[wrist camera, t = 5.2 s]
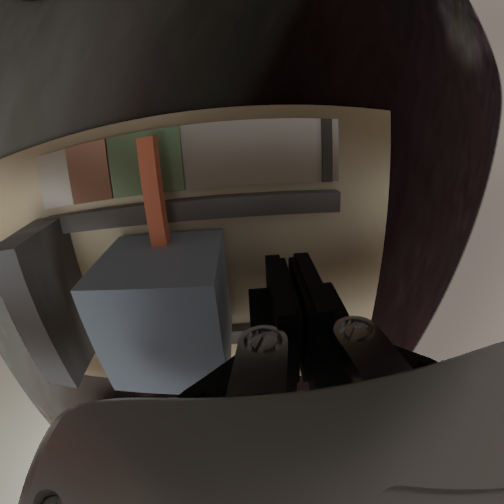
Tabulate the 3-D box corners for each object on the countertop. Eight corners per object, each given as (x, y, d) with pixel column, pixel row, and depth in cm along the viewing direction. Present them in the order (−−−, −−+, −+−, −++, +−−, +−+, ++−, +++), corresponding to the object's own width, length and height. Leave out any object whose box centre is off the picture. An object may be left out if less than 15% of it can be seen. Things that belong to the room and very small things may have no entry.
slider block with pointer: (104, 145, 10) (38, 160, 6) (214, 128, 10) (197, 128, 6) (141, 321, 14) (114, 390, 9) (232, 319, 14) (230, 394, 9)
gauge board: (-3, 161, 11) (-67, 185, 6) (378, 111, 11) (448, 110, 7) (63, 359, 17) (34, 412, 12) (354, 353, 17) (381, 417, 12)
